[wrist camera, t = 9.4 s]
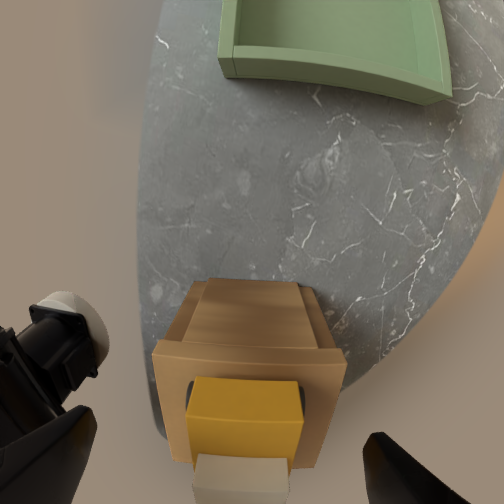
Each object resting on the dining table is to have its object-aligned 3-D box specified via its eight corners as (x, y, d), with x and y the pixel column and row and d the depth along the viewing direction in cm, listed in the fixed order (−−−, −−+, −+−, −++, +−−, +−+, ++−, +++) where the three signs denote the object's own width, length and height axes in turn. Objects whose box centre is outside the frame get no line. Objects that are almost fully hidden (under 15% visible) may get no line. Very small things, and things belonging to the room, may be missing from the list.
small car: (282, 466, 13) (287, 533, 9) (201, 462, 13) (189, 528, 9) (303, 370, 11) (321, 459, 7) (191, 364, 11) (164, 451, 7)
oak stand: (197, 370, 22) (172, 461, 13) (193, 276, 19) (150, 354, 11) (298, 375, 22) (314, 468, 13) (311, 282, 19) (348, 363, 11)
